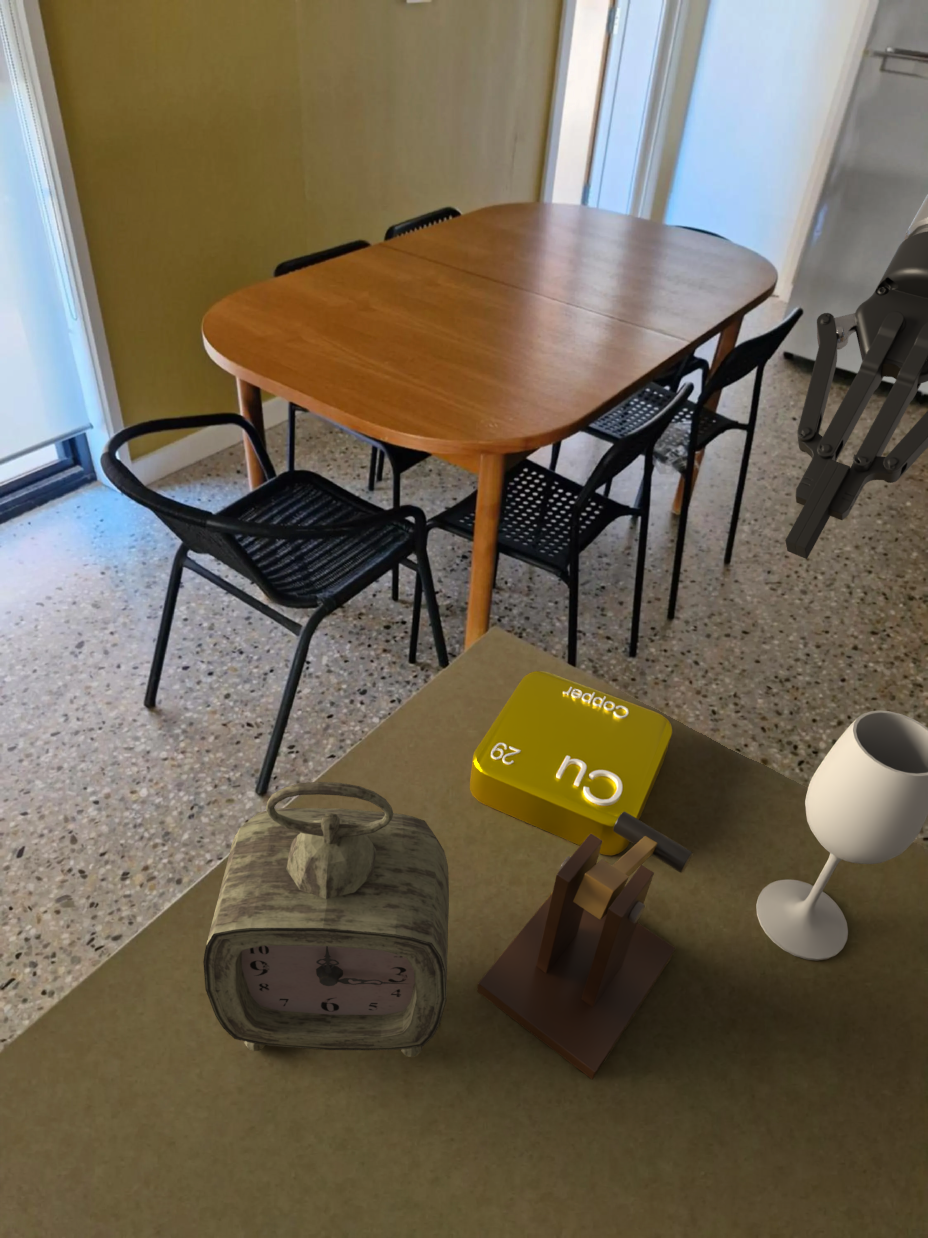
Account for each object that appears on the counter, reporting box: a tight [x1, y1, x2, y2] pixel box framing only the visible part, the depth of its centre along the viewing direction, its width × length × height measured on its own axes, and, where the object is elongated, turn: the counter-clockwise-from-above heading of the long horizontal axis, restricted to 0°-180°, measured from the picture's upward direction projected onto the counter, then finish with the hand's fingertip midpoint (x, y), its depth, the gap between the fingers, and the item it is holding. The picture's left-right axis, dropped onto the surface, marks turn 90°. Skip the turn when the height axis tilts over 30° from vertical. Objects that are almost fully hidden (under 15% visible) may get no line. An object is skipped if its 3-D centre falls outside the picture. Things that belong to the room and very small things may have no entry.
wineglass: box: [755, 709, 928, 961], centre depth 65 cm, size 8×8×21 cm
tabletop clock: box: [203, 781, 450, 1058], centre depth 56 cm, size 14×9×25 cm, turn 90°
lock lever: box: [573, 812, 694, 920], centre depth 64 cm, size 12×6×2 cm, turn 142°
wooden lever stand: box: [476, 834, 676, 1080], centre depth 63 cm, size 12×10×13 cm
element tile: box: [469, 670, 673, 856], centre depth 81 cm, size 15×15×5 cm
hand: (796, 549), depth 63 cm, fingers closed
